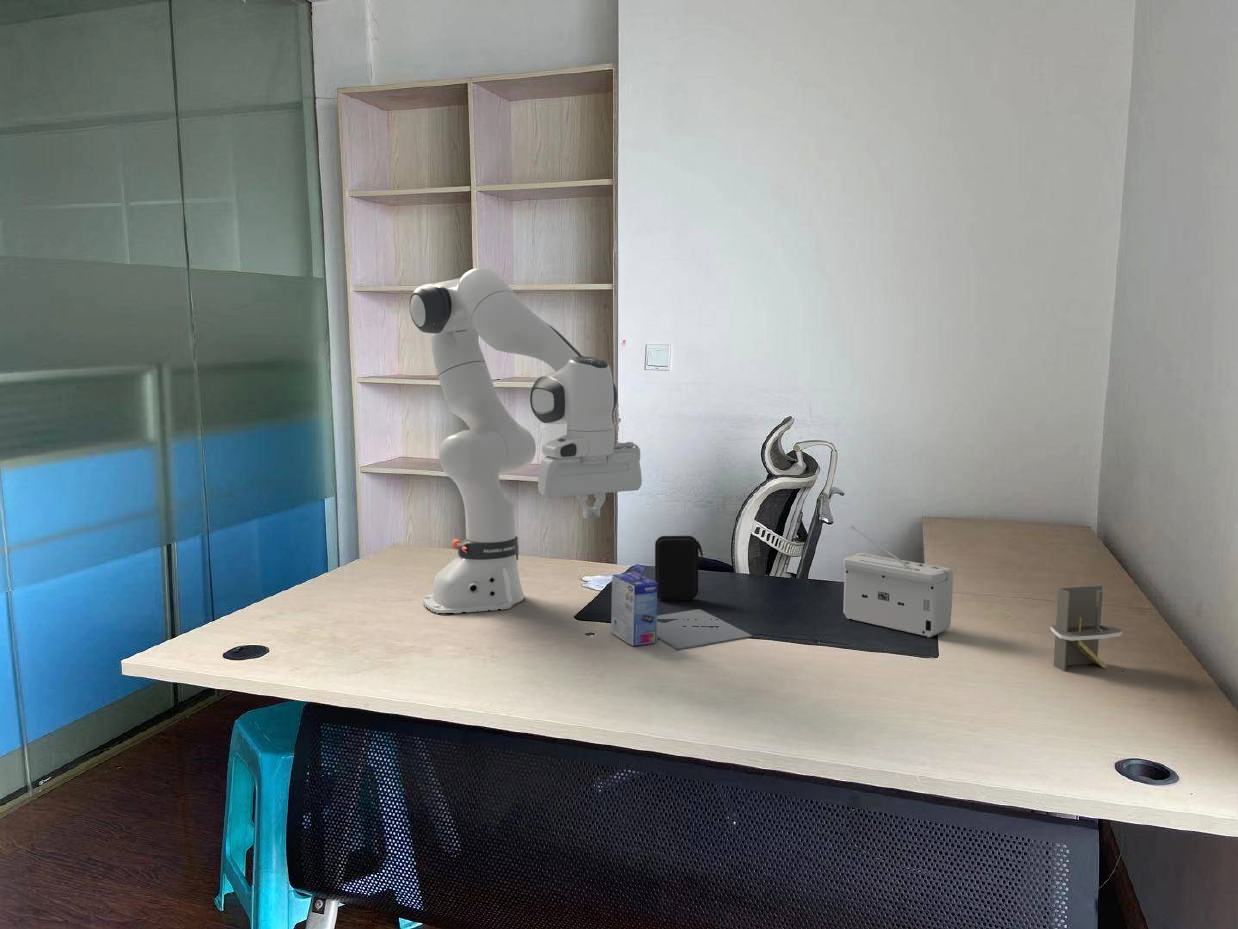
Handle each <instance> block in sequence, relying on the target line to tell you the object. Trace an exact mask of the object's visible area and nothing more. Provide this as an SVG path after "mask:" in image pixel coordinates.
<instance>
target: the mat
mask: <svg viewBox="0 0 1238 929" xmlns="http://www.w3.org/2000/svg"><path fill="white" fill-rule="evenodd" d="M657 619H678V620H673V621H670V622H667V623H661V622H658V621H657V635H656V639H658V640H659V641H661V642H663V643H665V644H666V645H667V646H670V647H671V648H673V649H674V650H676V651H681V650H687V649H691V648H698V647H702V646H703V647H704V646H708V645H714V644H720V643H725V642H731V641H737V640H741V639H742V640H744V639H748V638H752V637H753V635H752V634H750V633H748V632H746V631H745V630H742V629H740V628H738V627H736V626H734V625H732V624H731V623H728V622H727V621H724V620H722V619H720V618H719V617H716V616H715V615H712V614H710V613H708V612H706V611H705V610H702V609H700V608H699V609H698V608H697V609H691V610H686V611H679V612H673V613H672V612H671V613H665V614H659V615H657ZM683 619H684V620H683ZM687 619H689V620H687ZM695 619H697V620H695ZM711 619H712V620H711ZM716 619H718V620H716ZM683 626H686V627H683ZM692 626H699V627H692ZM701 626H719V627H718V628H716V627H713V628H710V627H701Z"/></svg>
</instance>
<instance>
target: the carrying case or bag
mask: <svg viewBox="0 0 1238 929" xmlns="http://www.w3.org/2000/svg"><path fill="white" fill-rule="evenodd" d="M699 554H700V556H701V557H704V556H703V555H704V553H703V549H702V546H701V543H700V541H699V540H697V538H695V537H694V536H692V535H661V536H659V537H658V538H657V539H656V540H655V542H654V581H655V582H657V599H659V600H661V601H691V600H694V599H695V598H696V597H697V595H698V592H699Z"/></svg>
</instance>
